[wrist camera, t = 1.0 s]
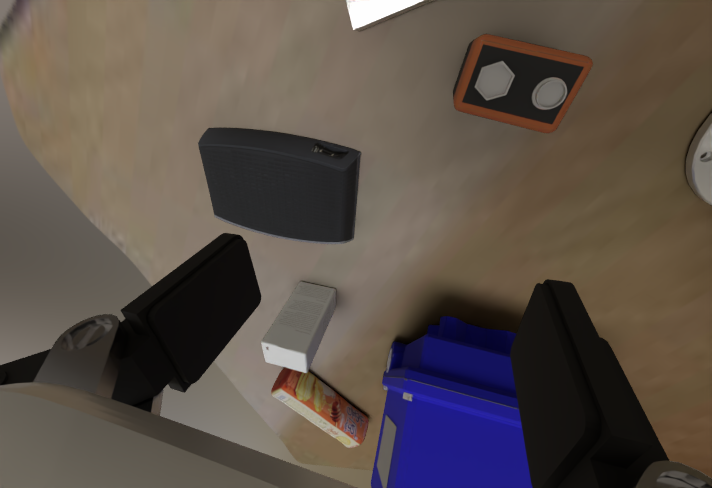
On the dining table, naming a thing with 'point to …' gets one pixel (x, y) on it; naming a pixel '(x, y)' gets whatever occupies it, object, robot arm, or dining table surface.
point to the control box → (451, 412)
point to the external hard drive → (282, 184)
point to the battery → (519, 82)
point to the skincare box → (300, 327)
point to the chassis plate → (378, 11)
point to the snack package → (321, 406)
